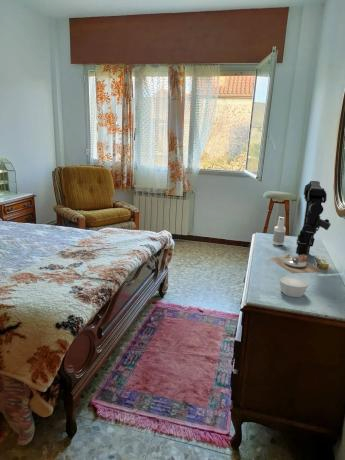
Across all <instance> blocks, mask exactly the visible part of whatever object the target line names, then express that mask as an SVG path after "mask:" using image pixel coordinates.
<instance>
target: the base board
mask: <svg viewBox="0 0 345 460" xmlns="http://www.w3.org/2000/svg"><path fill="white" fill-rule="evenodd" d="M289 258H297V259H299V256H290V257H289ZM269 259H270V260H271V261H272V262H274V263H276V264H278V265H279V266H280V267H281V268H283V269H285V270H286V271H287V272H289V274H290V273H291V274H307V273H308V274H309V273H323V272H324V270H321V269H320V268H318V267H317V266H314V265H313V264H312V263H309V262H308V261H307V260H306V261H305V262H306V267H304V268H296V267H291V266H288V265H286V264H285V263H284V260H285V259H286V256H280V257H279V256H278V257H269Z"/></svg>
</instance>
